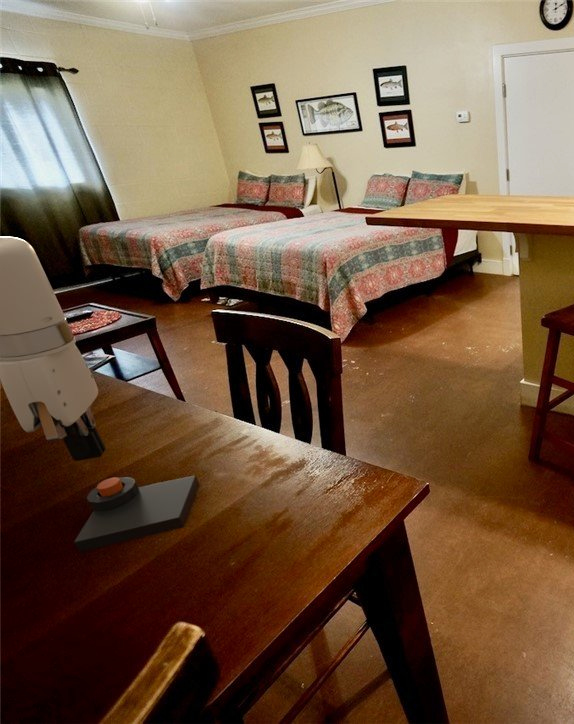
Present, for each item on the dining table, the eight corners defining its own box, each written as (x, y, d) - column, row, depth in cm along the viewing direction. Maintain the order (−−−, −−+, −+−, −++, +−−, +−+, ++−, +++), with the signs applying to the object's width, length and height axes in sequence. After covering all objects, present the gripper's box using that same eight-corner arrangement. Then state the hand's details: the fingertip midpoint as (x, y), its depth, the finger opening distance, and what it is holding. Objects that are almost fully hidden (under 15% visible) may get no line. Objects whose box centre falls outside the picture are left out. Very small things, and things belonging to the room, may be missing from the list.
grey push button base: (72, 554, 64) (60, 535, 62) (105, 500, 73) (96, 482, 72) (183, 527, 68) (175, 508, 67) (201, 479, 77) (194, 462, 76)
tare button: (98, 499, 69) (93, 491, 68) (105, 488, 71) (100, 480, 70) (119, 494, 70) (115, 486, 69) (126, 483, 72) (122, 475, 71)
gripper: (24, 322, 65) (80, 433, 73) (-48, 368, 52) (29, 496, 60) (93, 315, 67) (140, 423, 75) (39, 357, 55) (102, 481, 63)
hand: (90, 455), depth 68 cm, fingers closed
